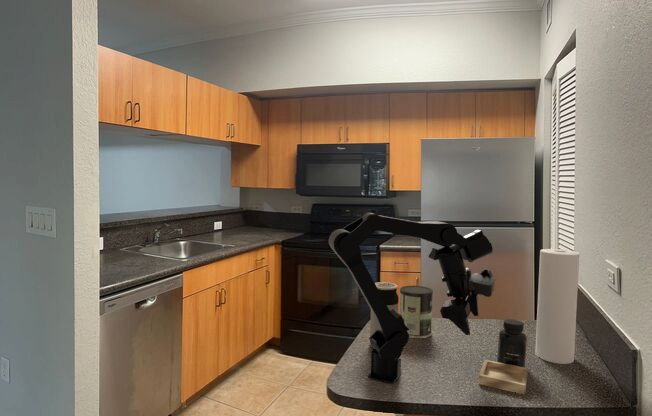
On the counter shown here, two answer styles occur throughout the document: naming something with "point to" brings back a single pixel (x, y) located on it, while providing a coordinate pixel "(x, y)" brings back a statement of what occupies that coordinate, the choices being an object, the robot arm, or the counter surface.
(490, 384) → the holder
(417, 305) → the coffee can
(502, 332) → the supplement bottle
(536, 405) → the counter surface
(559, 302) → the paper towel roll
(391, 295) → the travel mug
